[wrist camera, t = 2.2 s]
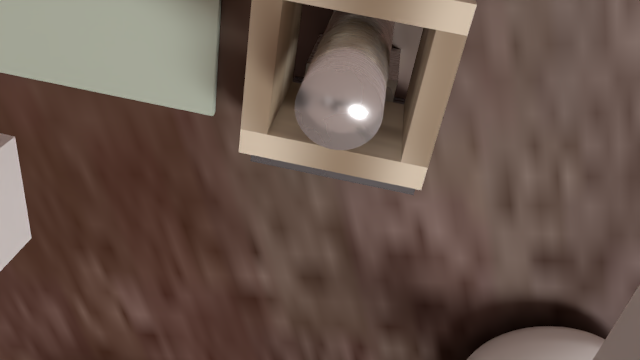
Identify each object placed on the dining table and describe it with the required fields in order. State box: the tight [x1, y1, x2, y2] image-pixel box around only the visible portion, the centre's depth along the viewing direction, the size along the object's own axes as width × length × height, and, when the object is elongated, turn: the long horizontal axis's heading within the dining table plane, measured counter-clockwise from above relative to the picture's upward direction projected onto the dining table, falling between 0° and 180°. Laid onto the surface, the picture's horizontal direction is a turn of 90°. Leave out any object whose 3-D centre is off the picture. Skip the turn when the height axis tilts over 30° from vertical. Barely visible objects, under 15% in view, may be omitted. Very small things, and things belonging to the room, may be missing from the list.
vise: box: [251, 10, 415, 195], centre depth 22 cm, size 8×18×11 cm, turn 171°
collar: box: [239, 0, 477, 190], centre depth 22 cm, size 7×7×5 cm
